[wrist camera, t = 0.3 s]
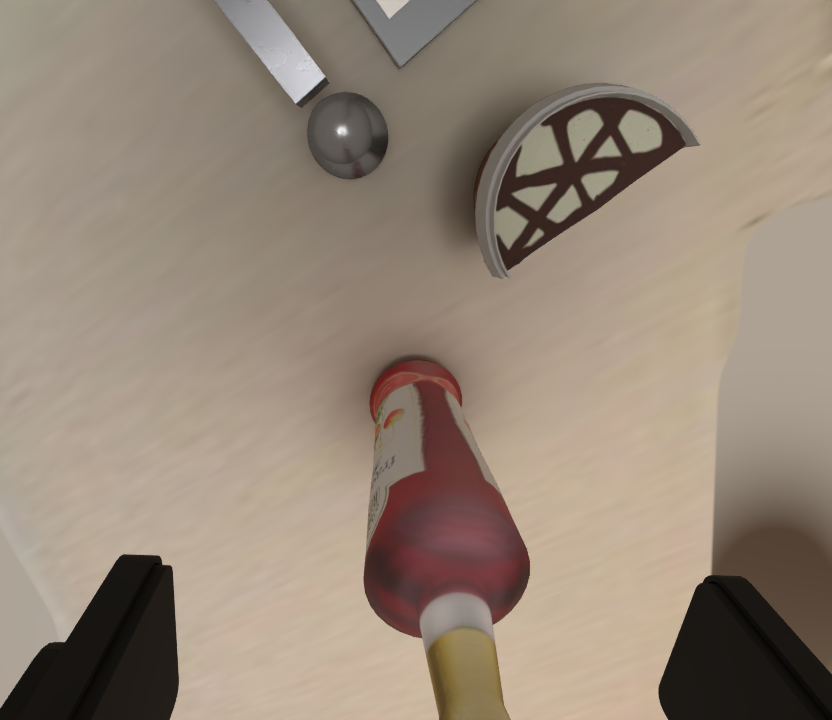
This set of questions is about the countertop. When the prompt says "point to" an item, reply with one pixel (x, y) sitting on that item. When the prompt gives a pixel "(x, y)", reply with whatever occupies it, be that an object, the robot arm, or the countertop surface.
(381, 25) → the label tile
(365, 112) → the pivot post
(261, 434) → the countertop surface
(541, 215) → the food container
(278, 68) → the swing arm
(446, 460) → the liquor
